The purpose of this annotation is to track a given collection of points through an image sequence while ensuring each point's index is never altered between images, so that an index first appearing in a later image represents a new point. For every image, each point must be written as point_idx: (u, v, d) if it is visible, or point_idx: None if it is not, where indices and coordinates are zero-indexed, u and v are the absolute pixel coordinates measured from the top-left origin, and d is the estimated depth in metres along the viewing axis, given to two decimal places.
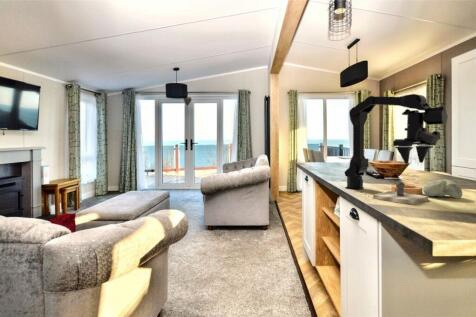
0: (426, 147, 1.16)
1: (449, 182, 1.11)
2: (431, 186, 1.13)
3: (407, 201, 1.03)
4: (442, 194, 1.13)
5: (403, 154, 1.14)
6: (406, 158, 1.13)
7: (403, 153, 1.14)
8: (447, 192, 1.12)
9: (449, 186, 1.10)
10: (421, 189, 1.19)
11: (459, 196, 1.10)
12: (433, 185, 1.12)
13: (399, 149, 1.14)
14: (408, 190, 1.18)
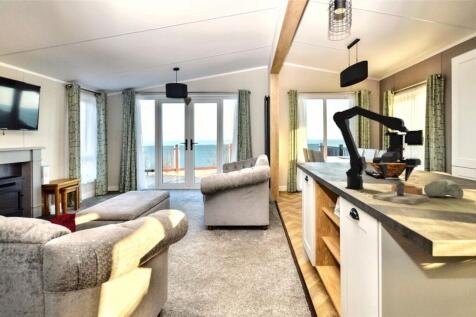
0: None
1: (450, 182, 1.10)
2: (432, 186, 1.12)
3: (407, 201, 1.03)
4: (443, 194, 1.12)
5: None
6: None
7: None
8: (448, 192, 1.12)
9: (450, 186, 1.09)
10: (421, 189, 1.19)
11: (460, 196, 1.10)
12: (434, 185, 1.12)
13: None
14: (408, 190, 1.18)
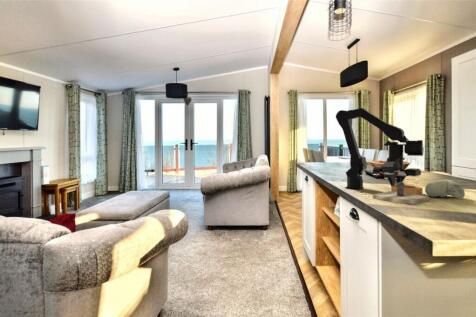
0: None
1: (451, 182, 1.10)
2: (433, 186, 1.12)
3: (407, 201, 1.03)
4: (444, 194, 1.12)
5: None
6: None
7: None
8: (449, 192, 1.11)
9: (452, 186, 1.09)
10: (421, 189, 1.19)
11: (461, 196, 1.10)
12: (435, 185, 1.11)
13: None
14: (408, 190, 1.18)
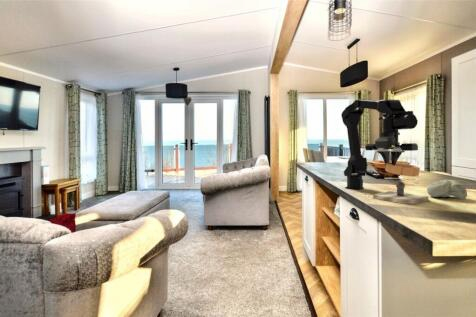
0: None
1: (454, 182, 1.09)
2: (436, 187, 1.11)
3: (407, 201, 1.03)
4: (447, 195, 1.11)
5: None
6: None
7: None
8: (452, 193, 1.11)
9: (454, 186, 1.08)
10: (418, 169, 1.08)
11: (464, 196, 1.09)
12: (438, 186, 1.11)
13: None
14: (404, 169, 1.07)
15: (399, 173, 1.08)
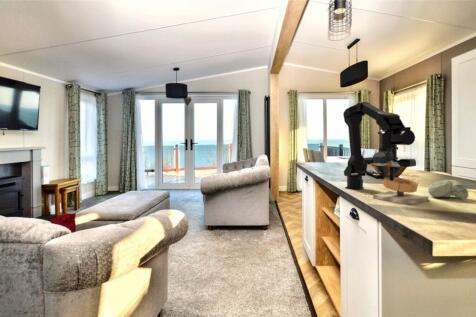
0: None
1: (455, 183, 1.09)
2: (437, 187, 1.10)
3: (407, 201, 1.03)
4: (448, 195, 1.11)
5: None
6: None
7: None
8: (453, 193, 1.10)
9: (456, 187, 1.08)
10: (416, 185, 1.08)
11: (465, 197, 1.09)
12: (440, 186, 1.10)
13: None
14: (402, 185, 1.06)
15: (396, 189, 1.08)
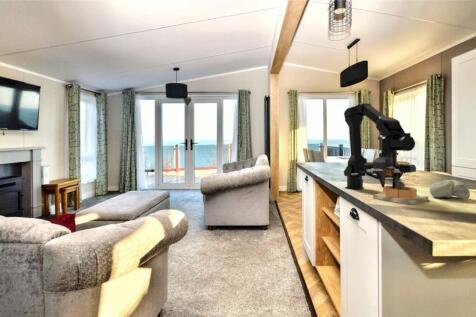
0: None
1: (457, 183, 1.09)
2: (439, 187, 1.10)
3: (407, 201, 1.03)
4: (450, 195, 1.10)
5: None
6: None
7: None
8: (455, 193, 1.10)
9: (457, 187, 1.08)
10: (415, 191, 1.08)
11: (467, 197, 1.08)
12: (441, 186, 1.10)
13: None
14: (401, 192, 1.07)
15: (396, 196, 1.08)
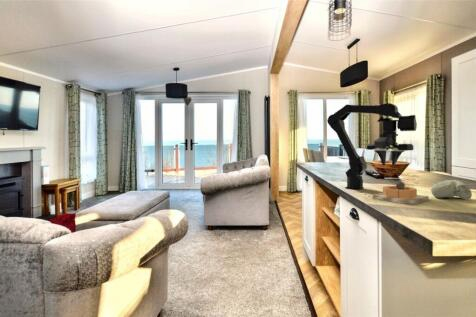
0: None
1: (459, 183, 1.08)
2: (441, 187, 1.09)
3: (407, 201, 1.03)
4: (451, 195, 1.10)
5: None
6: None
7: None
8: (456, 193, 1.10)
9: (459, 187, 1.07)
10: (415, 191, 1.08)
11: (468, 197, 1.08)
12: (443, 186, 1.09)
13: None
14: (401, 192, 1.07)
15: (396, 196, 1.08)
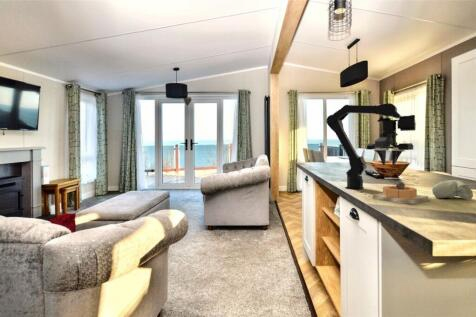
0: None
1: (460, 183, 1.08)
2: (443, 187, 1.09)
3: (407, 201, 1.03)
4: (453, 195, 1.10)
5: None
6: None
7: None
8: (458, 193, 1.09)
9: (461, 187, 1.07)
10: (415, 191, 1.08)
11: (470, 197, 1.08)
12: (445, 186, 1.09)
13: None
14: (401, 192, 1.07)
15: (396, 196, 1.08)
